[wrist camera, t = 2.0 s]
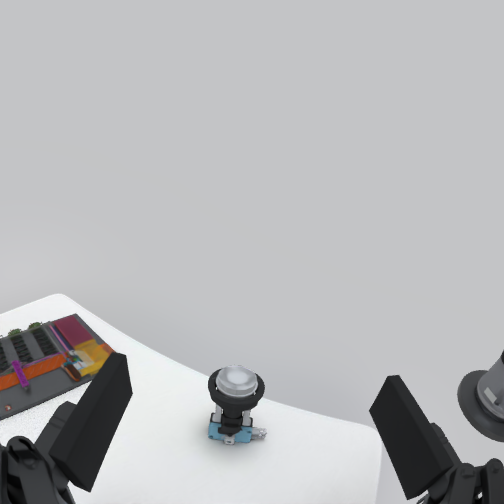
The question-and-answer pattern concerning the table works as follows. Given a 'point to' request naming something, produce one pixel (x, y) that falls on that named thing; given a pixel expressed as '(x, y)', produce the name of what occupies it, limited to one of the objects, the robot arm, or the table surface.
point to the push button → (234, 404)
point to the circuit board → (47, 362)
